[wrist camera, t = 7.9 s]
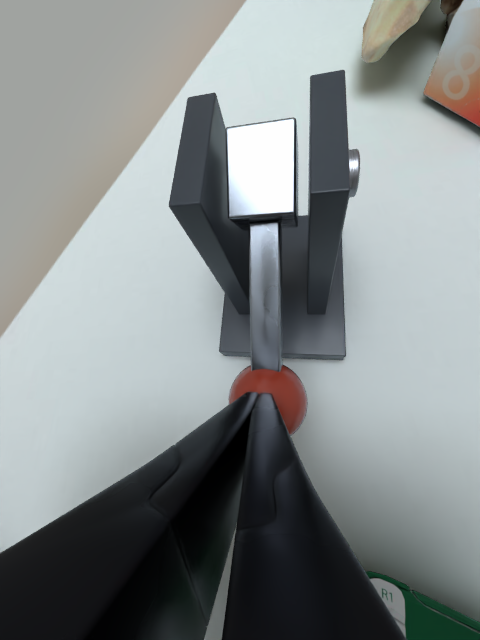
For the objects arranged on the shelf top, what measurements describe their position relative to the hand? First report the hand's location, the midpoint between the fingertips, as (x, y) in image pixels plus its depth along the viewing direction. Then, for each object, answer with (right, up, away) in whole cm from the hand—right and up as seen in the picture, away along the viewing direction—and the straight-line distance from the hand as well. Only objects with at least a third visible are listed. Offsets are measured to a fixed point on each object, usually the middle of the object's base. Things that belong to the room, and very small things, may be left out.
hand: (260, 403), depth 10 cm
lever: (+1, +4, +3) cm, 5 cm away
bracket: (+2, +5, +9) cm, 10 cm away
